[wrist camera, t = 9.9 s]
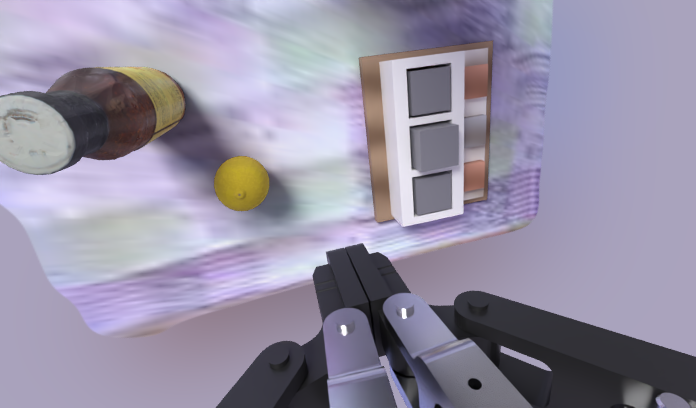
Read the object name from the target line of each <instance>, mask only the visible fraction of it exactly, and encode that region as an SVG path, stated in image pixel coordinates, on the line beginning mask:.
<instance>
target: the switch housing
mask: <svg viewBox="0 0 696 408" xmlns="http://www.w3.org/2000/svg"><path fill="white" fill-rule="evenodd" d="M431 65H434V67H445V66H450V99H451V110H446V111H440V112H434V113H427V114H421V115H415V116H411V115H409V112H408V93H407V74H406V69H409V68H417V67H424V66H431ZM379 66H380V78H381V91H382V103H383V116H384V128H385V141H386V153H387V166H388V178H389V190H390V203H391V215H392V216H393V217H394V218H395V219H396V220H397V221H398V222H399V223H400V225H401V226H402V227H405V226H410V225H415V224H419V223H424V222H428V221H433V220H438V219H442V218H447V217H451V216H456V215H460V214H463V196H464V69H465V51H457V52H450V53H442V54H434V55H427V56H419V57H411V58H404V59H396V60H389V61H382V62H379ZM439 121H445V122H449V123H453V124H458V125H459V165H457V166H451V167H446V168H441V169H436V170H431V171H425V172H420V171H419V170H417V169H415V168H414V167H412V166H411V150H410V131H409V126H415V125H421V124H427V123H433V122H439ZM443 171H447V172H449V173H451V208H449V209H445V210H440V211H435V212H431V213H426V214H421V215H417V214H415V213H414V207H413V188H412V177H417V176H422V175H427V174H432V173H438V172H443Z"/></svg>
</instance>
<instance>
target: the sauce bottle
mask: <svg viewBox="0 0 696 408" xmlns="http://www.w3.org/2000/svg"><path fill="white" fill-rule="evenodd" d="M185 105H186V104H185V99H184V94H183V91H182V89H181V88H180V87H179V85H178V84H177V83H176V82H175V81H174V80H173V79H172V78H171V77H170V76H169V75H167V74H166V73H164V72H161V71H159V70H155V69H152V68H147V67H95V68H82V69H77V70H73V71H70V72H68V73H66V74H64V75H63V76H61V77H60V78H59V79H57V81H56V82H55V83H54V84H53V85H52V86H51V88H50V89H49V90H48V91H47V92H46V93H42V92H35V91H24V92H17V93H10V94H8V95H1V96H0V161H1V162H2V163H4V164H6V165H7V166H8V167H10V168H13V169H15V170H17V171H20V172H23V173H28V174H35V175H45V174H53V173H55V172H58V171H61V170H63V169H66V168H68V167H70V166H72V165H74V164H76V163H77V162H78V161H80V159H81V158H82V157H87V158H91V159H97V160H111V159H113V160H114V159H117V158H119V157H123V156H125V155H127V154H129V153H131V152H132V151H135V150H138V149H140V148H142V147H144V146H145V145H147V144H148V143H150V142H151V141H153V140H155V139H156V138H158V137H159V136H161V135H163V134H164V133H166V132H167V131H169V130H171V129H172V128H174V127H175V126H176V125H177V124H178V123H179V121H180V120H181V119H182V118H183V116H184V112H185Z"/></svg>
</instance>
